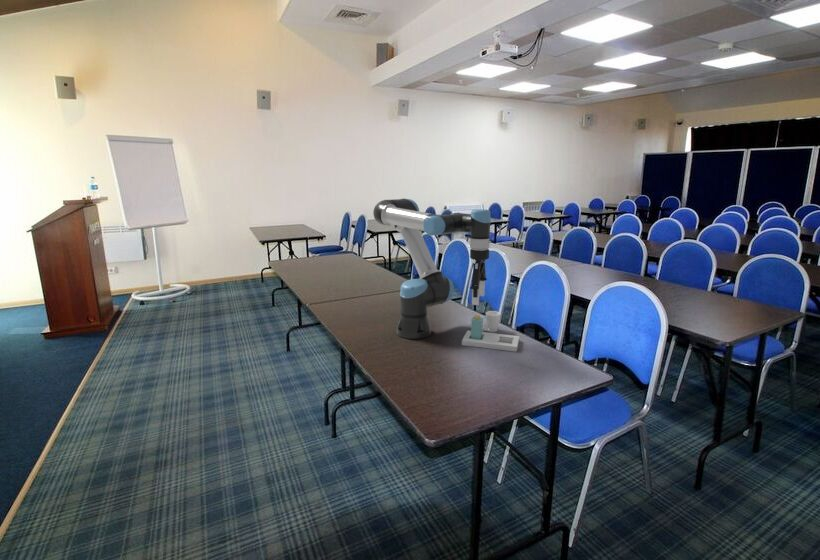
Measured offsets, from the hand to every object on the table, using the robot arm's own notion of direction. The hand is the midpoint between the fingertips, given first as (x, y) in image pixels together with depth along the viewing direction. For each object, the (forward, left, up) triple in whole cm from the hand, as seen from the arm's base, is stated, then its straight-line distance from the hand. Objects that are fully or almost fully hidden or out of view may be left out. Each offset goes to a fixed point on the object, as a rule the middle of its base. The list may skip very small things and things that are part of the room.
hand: (478, 300), depth 171 cm
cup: (+3, +14, -18) cm, 23 cm away
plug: (0, 0, -18) cm, 18 cm away
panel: (+6, 0, -18) cm, 19 cm away
